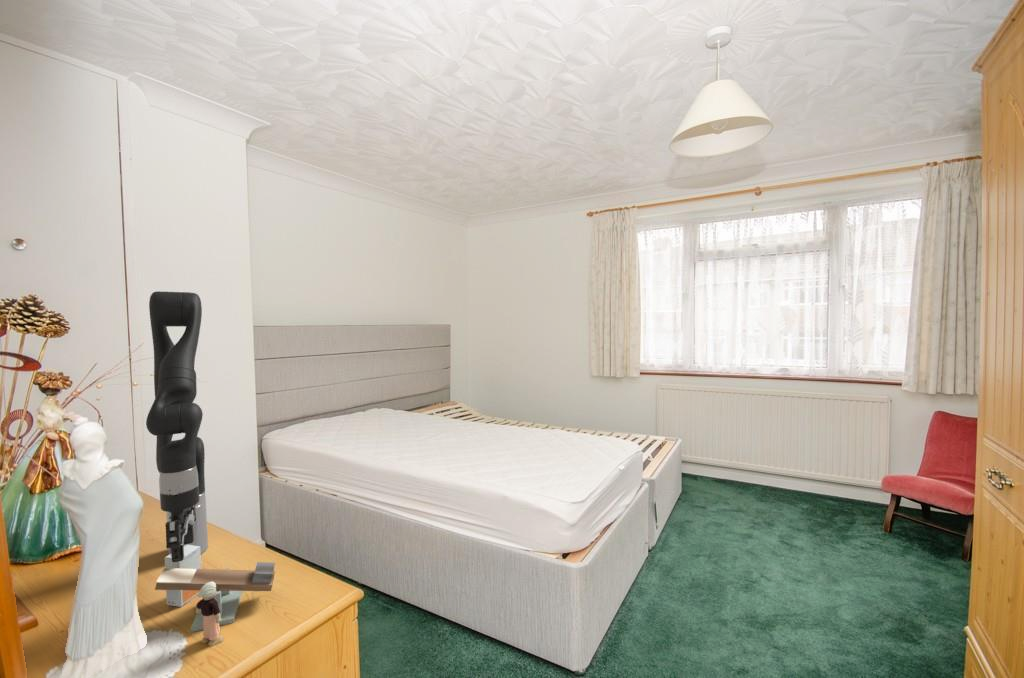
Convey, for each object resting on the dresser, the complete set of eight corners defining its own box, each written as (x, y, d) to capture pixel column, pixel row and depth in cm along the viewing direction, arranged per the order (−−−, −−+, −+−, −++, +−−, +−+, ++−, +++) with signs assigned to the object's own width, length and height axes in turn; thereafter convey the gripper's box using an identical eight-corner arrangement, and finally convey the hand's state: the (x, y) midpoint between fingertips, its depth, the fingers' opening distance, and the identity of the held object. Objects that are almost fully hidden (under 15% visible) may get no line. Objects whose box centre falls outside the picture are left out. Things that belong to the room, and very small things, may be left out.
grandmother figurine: (233, 635, 97) (230, 580, 96) (218, 649, 93) (215, 591, 92) (204, 629, 99) (201, 575, 98) (188, 642, 95) (185, 585, 94)
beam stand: (205, 598, 109) (203, 571, 108) (242, 590, 112) (241, 564, 111) (191, 632, 98) (189, 601, 97) (233, 622, 101) (232, 593, 100)
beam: (162, 578, 103) (168, 556, 103) (272, 580, 112) (277, 560, 112) (150, 598, 96) (157, 574, 97) (268, 598, 106) (274, 576, 106)
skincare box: (181, 607, 106) (178, 559, 105) (166, 605, 107) (163, 557, 106) (203, 591, 112) (201, 545, 111) (189, 589, 112) (186, 543, 112)
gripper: (169, 478, 112) (173, 541, 113) (149, 500, 99) (153, 571, 100) (205, 474, 115) (208, 535, 116) (190, 495, 102) (194, 563, 103)
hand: (183, 551), depth 108 cm, fingers open, 8 cm apart
